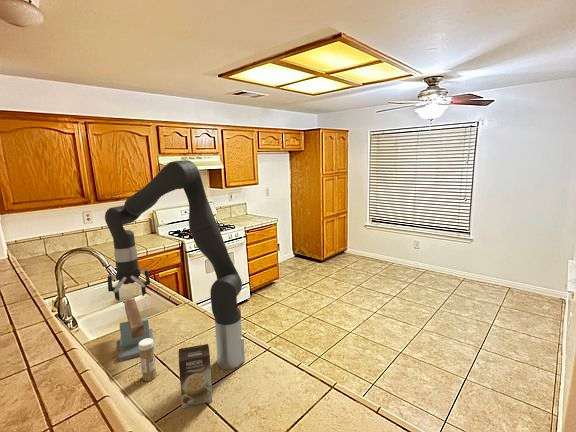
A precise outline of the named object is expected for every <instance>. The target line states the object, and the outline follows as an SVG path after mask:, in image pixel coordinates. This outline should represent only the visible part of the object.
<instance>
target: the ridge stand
mask: <svg viewBox="0 0 576 432" xmlns="http://www.w3.org/2000/svg"><path fill="white" fill-rule="evenodd" d="M141 319H142V322H143V325H144V332H145V335H143V336H140V337H137V338H132V334H131V330H130V326H129V323H128V320H127V321H124V322H120V323H119V332H120V339H119V348H118V359H117V360H118V362H122V361H126V360H131V359H133V358H137V357H140V350H139V346H138V344H139V342H140V341H141V340H143V339H146V338H151V339H153V340H154V336H153V328H150V325H149V323H150V322H149V317H148V316H146V317H141ZM153 349H154V350H155V347H154V345H153Z"/></svg>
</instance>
